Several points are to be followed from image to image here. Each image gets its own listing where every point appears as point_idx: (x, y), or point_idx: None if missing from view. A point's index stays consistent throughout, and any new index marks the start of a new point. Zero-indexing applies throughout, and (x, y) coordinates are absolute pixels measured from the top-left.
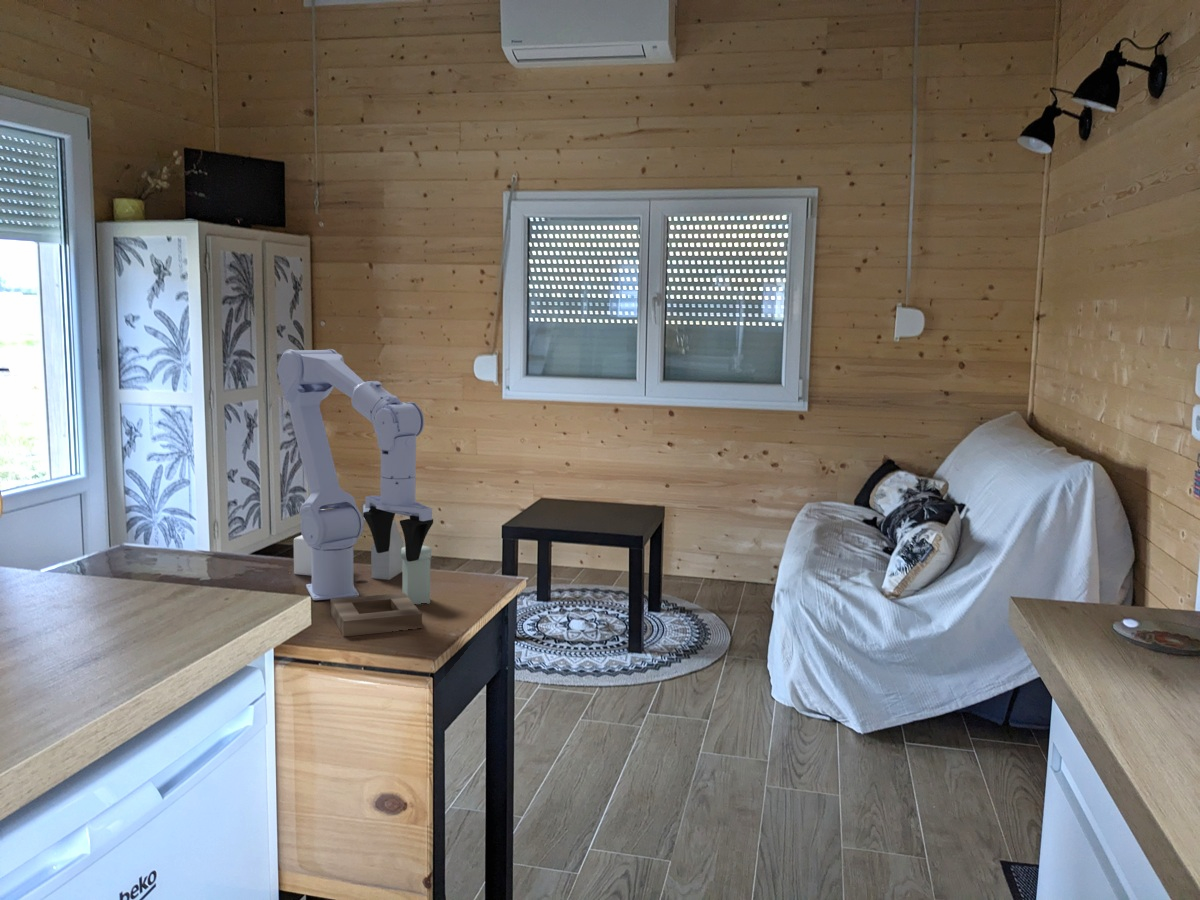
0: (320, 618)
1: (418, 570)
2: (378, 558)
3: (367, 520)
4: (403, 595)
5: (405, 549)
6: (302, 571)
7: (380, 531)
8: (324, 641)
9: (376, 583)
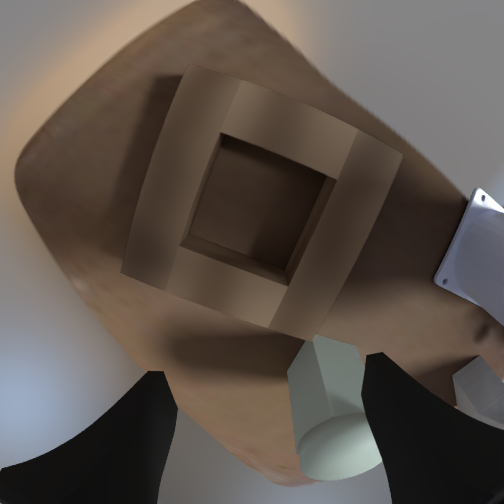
0: (369, 112)
1: (309, 411)
2: (487, 386)
3: (500, 442)
4: (292, 328)
5: (139, 402)
6: None
7: (406, 443)
8: (199, 29)
9: (458, 350)
